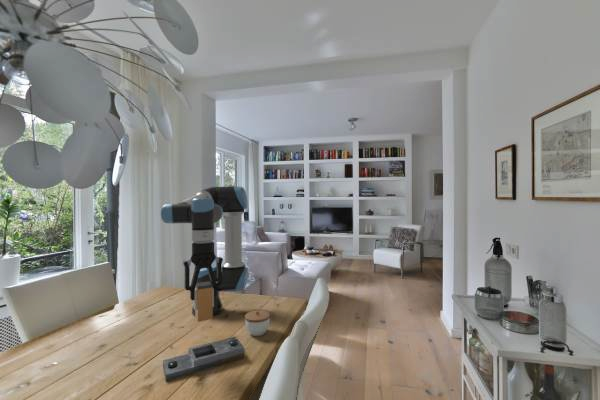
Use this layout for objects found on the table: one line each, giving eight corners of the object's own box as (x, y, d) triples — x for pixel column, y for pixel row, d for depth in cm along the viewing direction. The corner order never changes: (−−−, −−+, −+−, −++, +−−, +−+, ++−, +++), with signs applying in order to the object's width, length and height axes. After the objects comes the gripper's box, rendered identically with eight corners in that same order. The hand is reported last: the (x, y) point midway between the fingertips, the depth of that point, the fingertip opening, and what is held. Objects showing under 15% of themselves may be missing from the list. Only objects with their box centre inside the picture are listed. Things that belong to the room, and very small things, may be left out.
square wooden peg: (195, 316, 105) (194, 283, 105) (209, 314, 108) (209, 281, 108) (197, 321, 101) (197, 286, 101) (212, 318, 103) (212, 284, 103)
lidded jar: (265, 339, 121) (265, 316, 121) (241, 337, 123) (240, 315, 123) (273, 328, 132) (272, 307, 132) (250, 326, 134) (250, 306, 134)
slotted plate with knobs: (162, 366, 102) (162, 352, 102) (235, 346, 115) (235, 335, 115) (166, 381, 94) (165, 366, 94) (244, 358, 107) (244, 345, 107)
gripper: (177, 245, 97) (177, 316, 97) (231, 240, 106) (231, 305, 106) (174, 242, 103) (174, 308, 103) (225, 238, 112) (225, 299, 112)
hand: (203, 307), depth 104 cm, fingers closed on square wooden peg, 5 cm apart
